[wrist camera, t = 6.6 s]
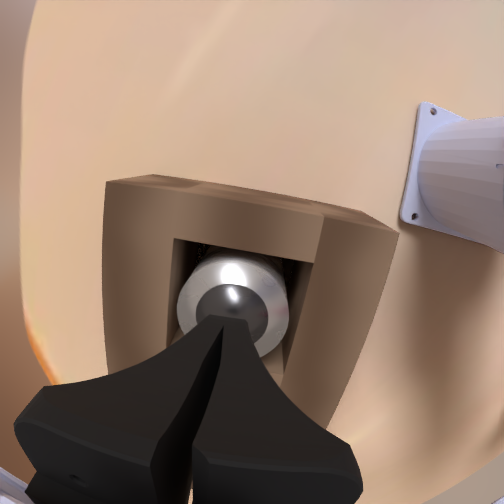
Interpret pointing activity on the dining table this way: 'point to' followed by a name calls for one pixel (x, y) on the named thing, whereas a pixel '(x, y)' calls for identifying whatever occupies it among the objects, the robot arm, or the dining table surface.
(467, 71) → the dining table surface
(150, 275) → the housing
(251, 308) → the knob
